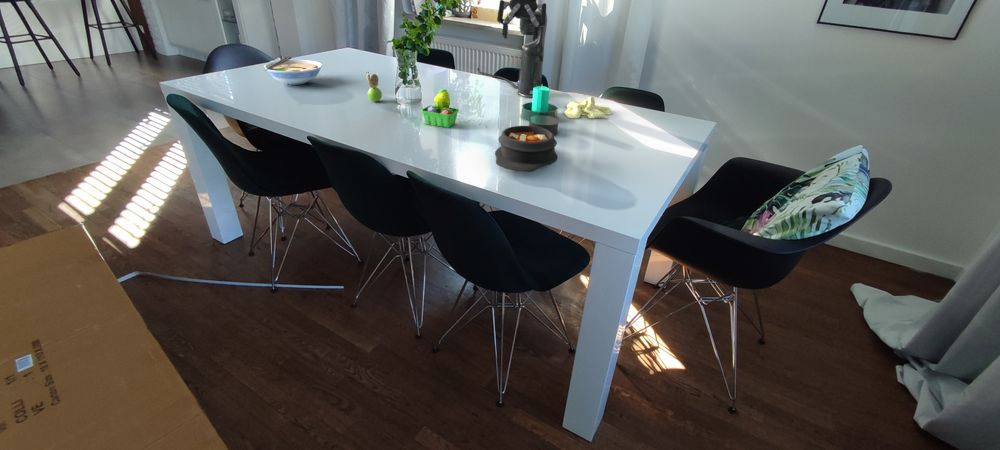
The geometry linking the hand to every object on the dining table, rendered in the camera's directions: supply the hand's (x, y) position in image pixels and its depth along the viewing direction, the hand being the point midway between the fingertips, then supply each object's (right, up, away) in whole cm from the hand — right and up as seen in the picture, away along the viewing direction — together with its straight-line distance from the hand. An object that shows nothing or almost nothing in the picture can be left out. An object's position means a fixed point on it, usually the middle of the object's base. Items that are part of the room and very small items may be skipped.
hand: (519, 39), depth 142 cm
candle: (+9, -15, +36) cm, 40 cm away
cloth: (+28, -11, +45) cm, 54 cm away
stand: (+9, -23, +23) cm, 33 cm away
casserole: (+2, -37, -1) cm, 37 cm away
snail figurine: (-55, -7, +44) cm, 71 cm away
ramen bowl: (-94, +6, +63) cm, 113 cm away
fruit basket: (-27, -20, +25) cm, 41 cm away
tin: (+9, -15, +36) cm, 40 cm away
